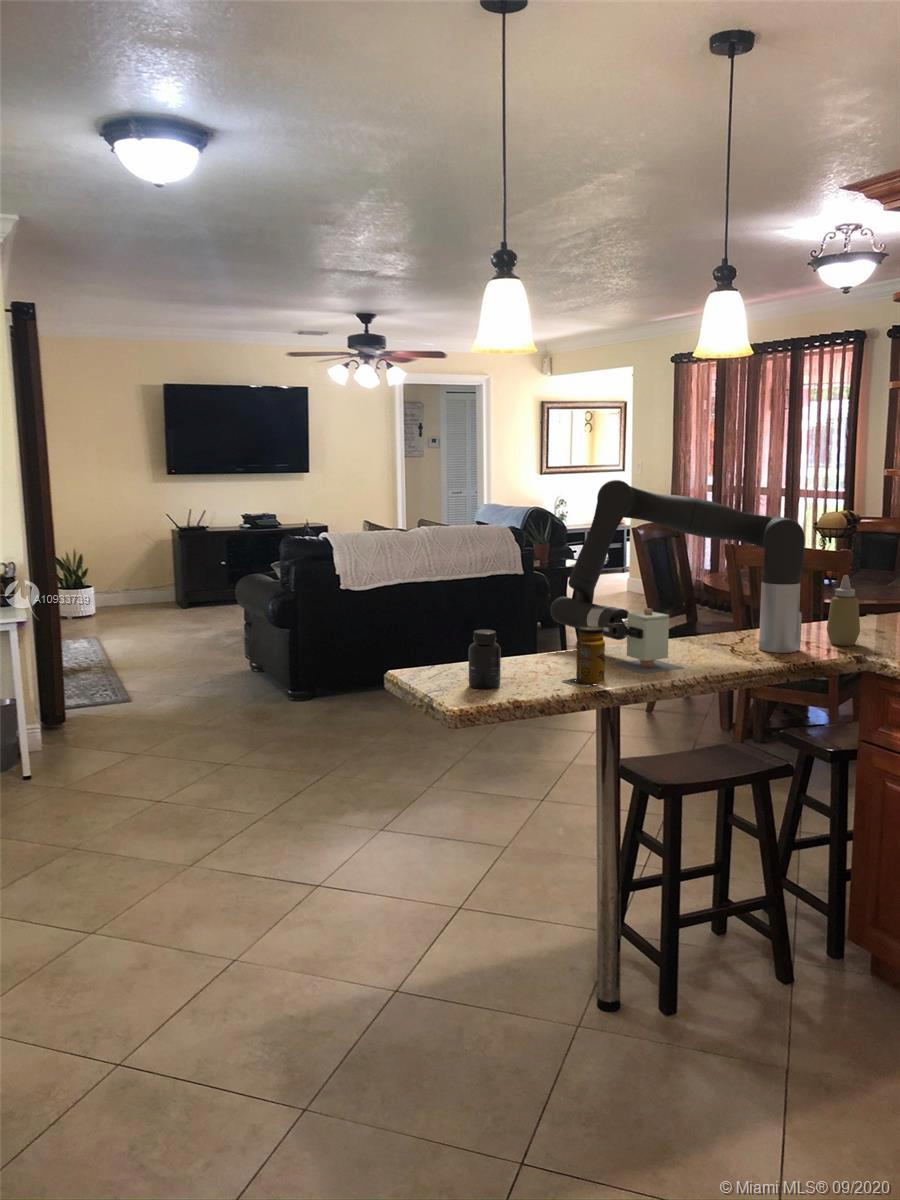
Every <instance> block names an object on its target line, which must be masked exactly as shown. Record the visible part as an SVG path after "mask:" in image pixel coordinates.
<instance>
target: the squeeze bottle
mask: <svg viewBox="0 0 900 1200" xmlns="http://www.w3.org/2000/svg"><path fill="white" fill-rule="evenodd" d="M842 576H843V577H842V579H841V583H840V586H839V588H835V593H834V594H835V596H833V597H832V598H831V599H830V605H829V612H828V616H827V617H828V618H827V625H826V632H827V636H828V639H829V643H830V644H832V645H835V646H839V647H840V646H841V647H842V646H843V647H848V646H849V647H850V646H854V645H856V642H857V640H858V638H859V636H860V633H861V624H860V622H861V621H860V604H859V599H858V598H857V597H855V596H856V589H854V588H851V582H850V576H849V574H845V575H842Z"/></svg>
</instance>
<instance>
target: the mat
mask: <svg viewBox="0 0 900 1200" xmlns="http://www.w3.org/2000/svg"><path fill="white" fill-rule="evenodd" d="M611 666H616V667H618V668H622V669H626V670H629V671H632V672H636V673H639V674H642V675H647V674H654V673H661V672H668V671H674V670H683V669H684V667H683V666H679V665H676V664H672V663H668V662H665V661H662V660H659V659H657V660H654V667H641V666H640V659H636V660H629V661H623V662H621V661H620V662H615V663H614V662H613V663H611Z"/></svg>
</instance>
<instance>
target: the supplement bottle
mask: <svg viewBox="0 0 900 1200" xmlns="http://www.w3.org/2000/svg"><path fill="white" fill-rule="evenodd" d="M472 638H473V641H474V642H473V643H471V644H470V645H469V648H468V685H469V687H470V688H472V689H474V690H487V691H488V690H494V689H498V688H499V687H501V686H500V685H501V661H502V660H501V657H502V656H501V649H502V648H501V646H500V645H499V644H498V643H497V642H496V641H497V632H496V631H495V630H492V629H477V630H474V631H473V637H472Z"/></svg>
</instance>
